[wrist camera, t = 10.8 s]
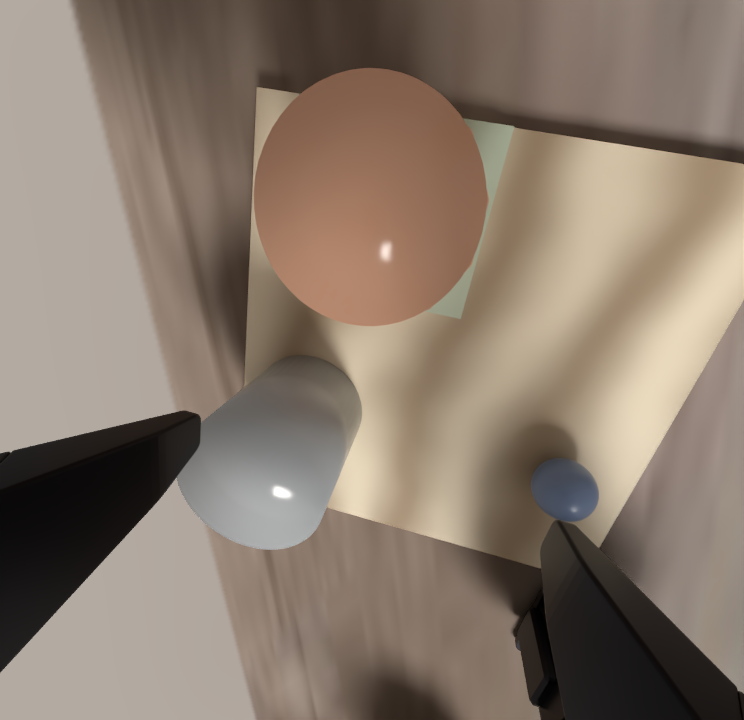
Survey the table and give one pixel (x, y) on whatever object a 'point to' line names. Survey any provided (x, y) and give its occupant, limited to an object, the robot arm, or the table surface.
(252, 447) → the grey rounded piece
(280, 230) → the peach domed cylinder
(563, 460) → the blue ellipsoid
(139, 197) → the table surface
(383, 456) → the birch board
